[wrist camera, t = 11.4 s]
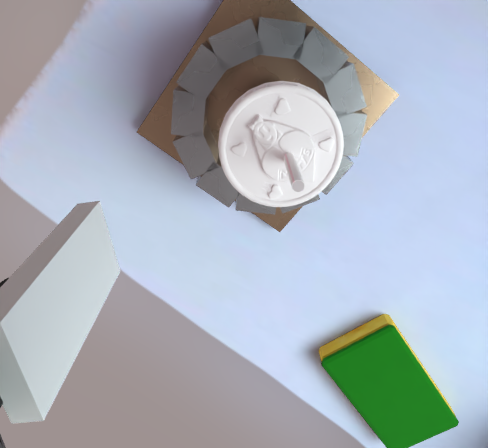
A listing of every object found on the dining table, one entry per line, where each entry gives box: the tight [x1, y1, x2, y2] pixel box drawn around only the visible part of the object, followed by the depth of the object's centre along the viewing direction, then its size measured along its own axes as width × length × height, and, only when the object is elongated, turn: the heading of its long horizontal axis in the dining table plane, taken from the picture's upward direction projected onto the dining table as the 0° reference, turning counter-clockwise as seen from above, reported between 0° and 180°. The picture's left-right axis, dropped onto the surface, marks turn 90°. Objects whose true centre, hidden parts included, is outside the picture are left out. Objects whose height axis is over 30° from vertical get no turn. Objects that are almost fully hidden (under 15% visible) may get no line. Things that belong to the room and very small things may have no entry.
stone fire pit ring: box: [137, 0, 399, 232], centre depth 30 cm, size 13×13×4 cm
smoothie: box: [218, 81, 344, 207], centre depth 25 cm, size 6×6×14 cm
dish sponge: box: [319, 314, 459, 448], centre depth 42 cm, size 7×14×2 cm, turn 34°
